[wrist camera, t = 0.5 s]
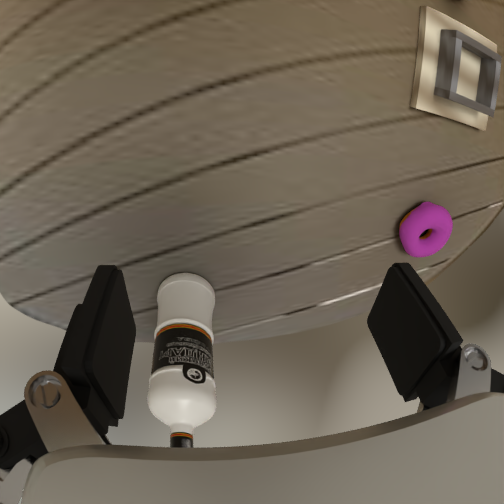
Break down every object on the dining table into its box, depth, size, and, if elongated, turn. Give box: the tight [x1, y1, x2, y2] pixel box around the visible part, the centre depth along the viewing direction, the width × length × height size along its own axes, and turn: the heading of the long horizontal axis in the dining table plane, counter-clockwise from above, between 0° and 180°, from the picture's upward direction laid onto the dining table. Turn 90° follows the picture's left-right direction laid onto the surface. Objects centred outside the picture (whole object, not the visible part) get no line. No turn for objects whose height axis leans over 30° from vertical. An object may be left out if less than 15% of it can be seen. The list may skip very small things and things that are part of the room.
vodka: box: [147, 273, 217, 448], centre depth 37 cm, size 9×9×30 cm
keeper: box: [410, 6, 502, 131], centre depth 30 cm, size 16×16×5 cm
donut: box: [399, 202, 453, 257], centre depth 45 cm, size 10×10×5 cm
